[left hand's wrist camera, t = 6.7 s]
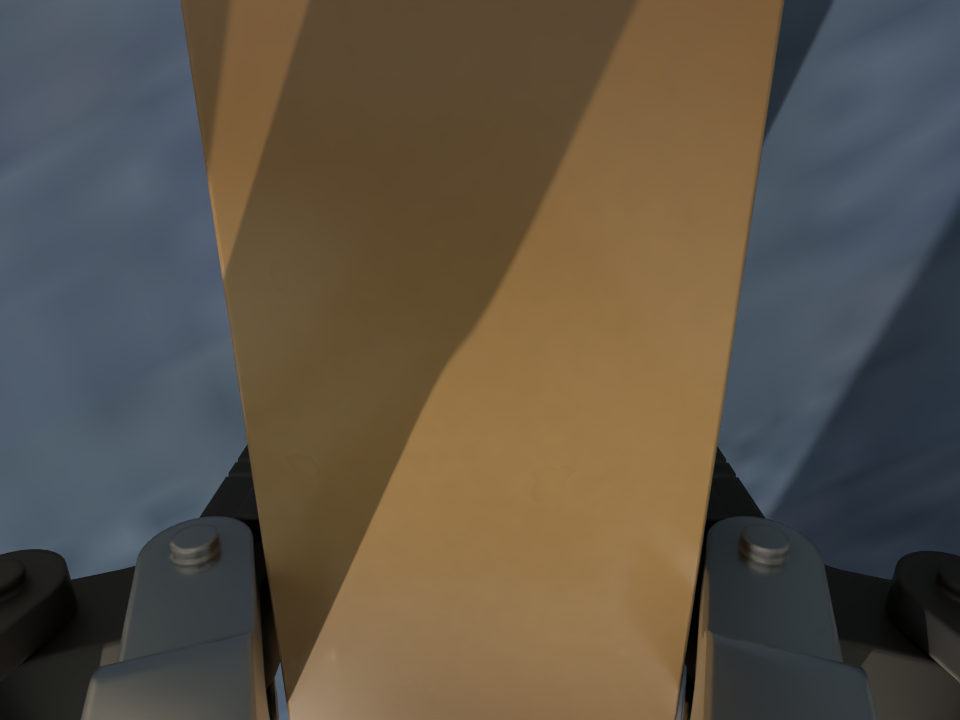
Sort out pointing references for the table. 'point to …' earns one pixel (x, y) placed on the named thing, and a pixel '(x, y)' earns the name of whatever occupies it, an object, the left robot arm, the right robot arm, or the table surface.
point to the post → (482, 333)
